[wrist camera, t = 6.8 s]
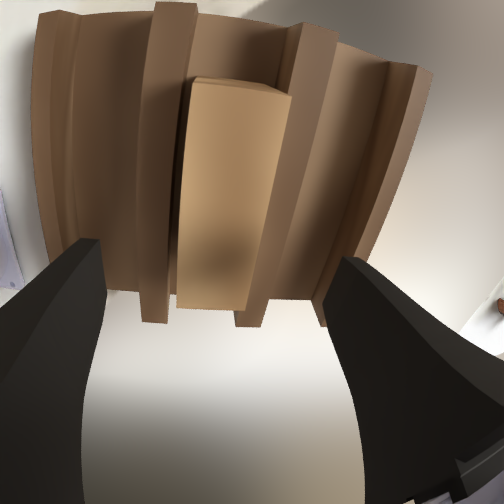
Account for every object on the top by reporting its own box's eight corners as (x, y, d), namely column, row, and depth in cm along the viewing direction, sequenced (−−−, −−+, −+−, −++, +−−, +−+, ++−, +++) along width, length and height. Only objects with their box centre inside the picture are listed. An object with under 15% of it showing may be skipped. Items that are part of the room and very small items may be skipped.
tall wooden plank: (181, 242, 17) (176, 308, 13) (198, 75, 12) (192, 82, 8) (234, 246, 17) (244, 310, 13) (263, 83, 12) (291, 96, 8)
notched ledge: (77, 280, 18) (64, 313, 16) (68, 18, 9) (39, 13, 7) (321, 295, 22) (334, 326, 19) (399, 67, 13) (433, 73, 10)
